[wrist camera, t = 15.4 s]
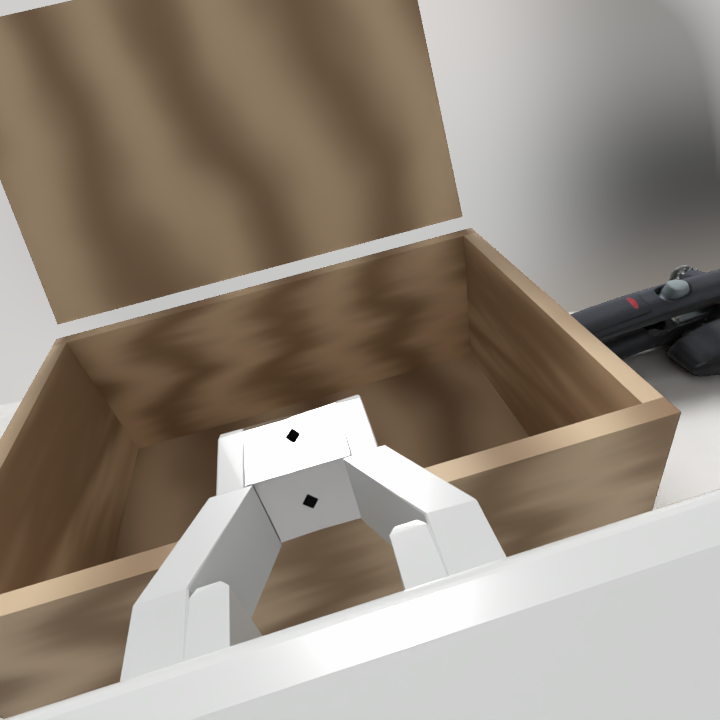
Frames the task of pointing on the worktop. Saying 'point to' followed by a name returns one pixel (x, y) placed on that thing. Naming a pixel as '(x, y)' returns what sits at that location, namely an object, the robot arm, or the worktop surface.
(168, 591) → the robot arm
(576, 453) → the wooden box
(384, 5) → the lid flap
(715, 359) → the can opener
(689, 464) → the worktop surface
